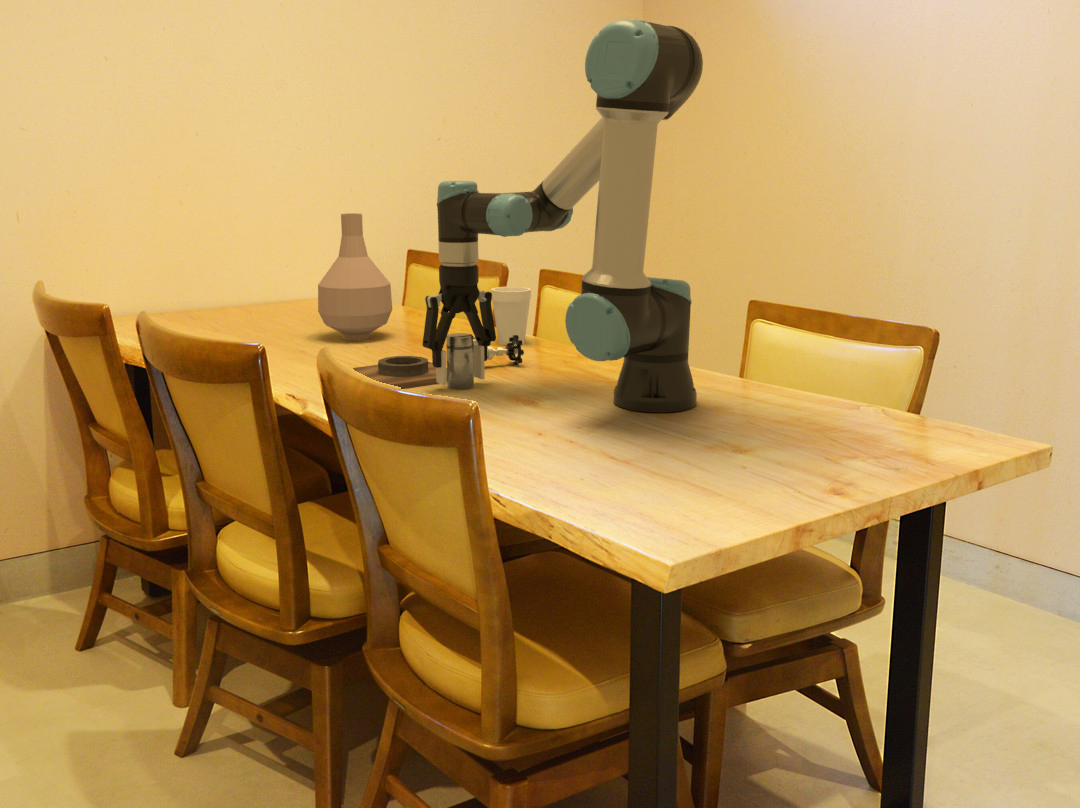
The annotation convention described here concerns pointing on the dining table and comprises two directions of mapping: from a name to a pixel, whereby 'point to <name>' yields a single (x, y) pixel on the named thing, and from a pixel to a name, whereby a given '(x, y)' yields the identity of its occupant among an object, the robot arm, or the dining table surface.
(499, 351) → the valve
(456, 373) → the cylinder
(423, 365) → the ring block
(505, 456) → the dining table surface
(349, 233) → the vase
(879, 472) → the dining table surface
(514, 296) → the foam cup
